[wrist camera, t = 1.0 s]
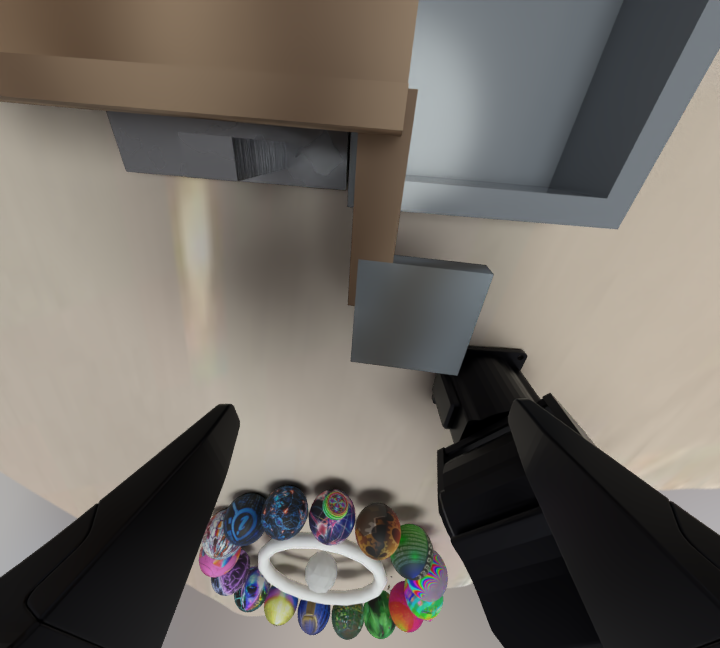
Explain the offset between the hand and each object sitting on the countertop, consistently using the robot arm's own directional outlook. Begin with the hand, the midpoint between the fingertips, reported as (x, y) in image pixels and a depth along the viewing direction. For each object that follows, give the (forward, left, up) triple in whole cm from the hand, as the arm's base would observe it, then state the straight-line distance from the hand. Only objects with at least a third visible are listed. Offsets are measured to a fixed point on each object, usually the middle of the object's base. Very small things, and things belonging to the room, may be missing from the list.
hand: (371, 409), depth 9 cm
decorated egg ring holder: (+3, +43, -13) cm, 45 cm away
